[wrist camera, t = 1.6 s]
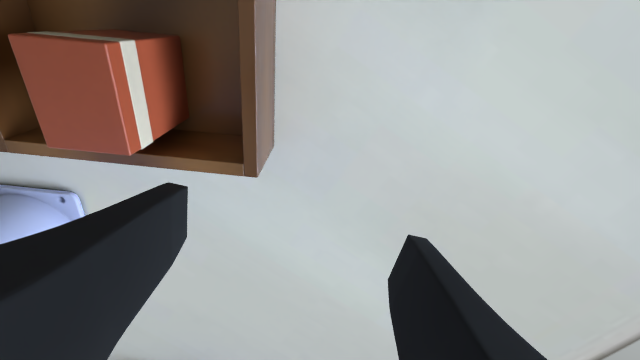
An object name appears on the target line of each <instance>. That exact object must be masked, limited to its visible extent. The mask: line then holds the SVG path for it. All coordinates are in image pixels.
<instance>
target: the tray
mask: <svg viewBox="0 0 640 360" xmlns="http://www.w3.org/2000/svg"><path fill="white" fill-rule="evenodd" d="M275 19H276V0H0V152H10V153H19V154H29V155H39V156H49V157H59V158H69V159H78V160H88V161H98V162H108V163H118V164H128V165H138V166H148V167H157V168H167V169H177V170H187V171H197V172H207V173H217V174H227V175H236V176H247V177H256V178H257V177H258V175H259V173H260V172H261V170H262V168H263V166H264V164H265V162H266V160H267V158H268V156H269V154H270V152H271V151H272V148H273V147H274V94H275ZM108 29H115V30H126V31H136V32H147V33H157V34H168V35H178V36H180V42H181V50H182V59H183V67H184V75H185V84H186V92H187V101H188V109H189V118H188V119H186V120H185V121H183V122H182V123H180V124H178V125H177V126H175V127H174V128H172V129H171V130H169V131H168V132H166V133H165V134H163V135H162V136H160V137H158V138H157V139H155V140H154V141H153V142H152V143H151V144H149V145H148V146H146V147H145V148H143V149H140V150H138V151H137V152H135V153H134V154H132V155H130V156H127V155H117V154H107V153H97V152H88V151H78V150H68V149H58V148H49V147H47V144H46V142H45V139H44V136H43V133H42V130H41V128H40V125H39V122H38V119H37V116H36V114H35V111H34V108H33V105H32V103H31V100H30V97H29V94H28V91H27V89H26V86H25V83H24V80H23V77H22V75H21V72H20V69H19V66H18V63H17V61H16V58H15V55H14V52H13V50H12V47H11V44H10V41H9V38H8V34H13V33H27V32H43V31H49V32H60V31H84V30H108Z"/></svg>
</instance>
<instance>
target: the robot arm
mask: <svg viewBox="0 0 640 360" xmlns="http://www.w3.org/2000/svg"><path fill="white" fill-rule="evenodd" d="M187 195H188V187H187V186H182V185H178V184H173V183H165V184H162V185H160V186H157V187H155V188H152V189H150V190H148V191H145V192H143V193H140V194H138V195H136V196H133V197H131V198H129V199H126V200H124V201H122V202H119V203H117V204H114V205H112V206H110V207H107V208H105V209H102V210H100V211H97V212H94V213H92V214H89V215H86V216H85V214H84V211H83V208H82V205H81V202H80V199H79V197H78V196H77V195H76V194H75V193H73V192H68V191H58V190H48V189H39V188H29V187H19V186H9V185H0V360H107V359H108V357H109V356H110V354H111V352H112V351H113V349H114V347H115V345H116V344H117V342H118V341H119V339H120V338H121V336H122V335H123V333H124V332H125V330H126V329H127V327H128V326H129V324H130V323H131V322H132V320H133V319H134V317H135V316H136V315H137V313H138V312H139V311H140V309H141V308H142V306H143V305H144V304H145V302H146V301H147V299H148V298H149V297H150V295H151V294H152V292H153V291H154V290H155V288H156V287H157V286H158V284H159V283H160V281H161V280H162V278H163V277H164V276H165V274H166V273H167V271H168V270H169V269H170V267H171V266H172V264H173V262H174V260H175V259H176V257H177V255H178V253H179V251H180V249H181V247H182V246H183V244H184V242H185V240H186V238H187ZM388 291H389V307H390V314H391V319H392V325H393V330H394V335H395V341H396V346H397V351H398V356H399V360H547V359H546V358H545V357H544V356H542V355H541V354H540V353H539V352H538V351H537V350H536V349H535V348H533V347H532V346H531V345H530V344H529V343H528V342H527V341H526V340H524V339H523V338H522V337H521V336H520V335H519V334H518V333H517V332H515V331H514V330H513V329H512V328H511V327H510V326H509V325H508V324H507V323H506V322H505V321H504V320H503V319H502V318H501V317H500V316H499V315H498V314H497V313H496V312H495V311H494V310H493V309H492V308H491V307H490V306H489V305H488V304H487V303H486V302H485V301H484V300H483V299H482V298H481V297H480V296H479V295H478V294H477V293H476V292H475V291H474V290H473V289H472V288H471V287H470V285H469V284H468V283H467V282H466V281H465V280H464V279H463V278H462V277H461V276H460V275H459V273H458V272H457V271H456V270H455V269H454V268H453V267H452V266H451V264H450V263H449V262H448V261H447V260H446V259H445V258H444V257H443V256H442V254H441V253H440V252H439V251H438V250H437V249H436V248H435V247H434V246H433V245H432V244H431V243H430V242H429V241H428V240H427V239H426V238H421V237H417V236H412V235H408V236H407V238H406V241H405V243H404V245H403V247H402V250H401V252H400V254H399V256H398V258H397V261H396V263H395V265H394V267H393V269H392V272H391V274H390V276H389V278H388Z"/></svg>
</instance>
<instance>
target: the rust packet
mask: <svg viewBox="0 0 640 360" xmlns="http://www.w3.org/2000/svg"><path fill="white" fill-rule="evenodd" d="M8 38H9V41H10V44H11V47H12V50H13V52H14V55H15V58H16V61H17V63H18V66H19V69H20V72H21V75H22V77H23V80H24V83H25V86H26V89H27V91H28V94H29V97H30V100H31V103H32V105H33V108H34V111H35V114H36V116H37V119H38V122H39V125H40V128H41V130H42V133H43V136H44V139H45V142H46V144H47V147H49V148H58V149H68V150H78V151H88V152H97V153H107V154H117V155H127V156H130V155H132V154H134V153H135V152H137V151H138V150H140V149H143V148H145V147H146V146H148V145H149V144H151V143H152V142H153V141H154V140H155V139H157V138H158V137H160V136H162V135H163V134H165V133H166V132H168V131H169V130H171V129H172V128H174V127H175V126H177V125H178V124H180V123H182V122H183V121H185V120H186V119H188V118H189V109H188V101H187V92H186V84H185V75H184V67H183V59H182V50H181V42H180V36H178V35H168V34H157V33H147V32H136V31H126V30H115V29H108V30H84V31H60V32H49V31H43V32H27V33H13V34H8Z"/></svg>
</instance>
